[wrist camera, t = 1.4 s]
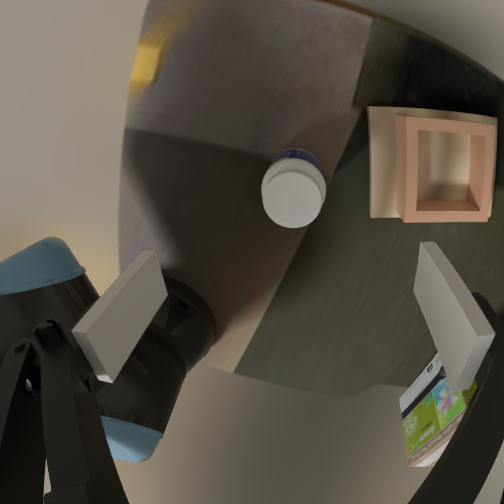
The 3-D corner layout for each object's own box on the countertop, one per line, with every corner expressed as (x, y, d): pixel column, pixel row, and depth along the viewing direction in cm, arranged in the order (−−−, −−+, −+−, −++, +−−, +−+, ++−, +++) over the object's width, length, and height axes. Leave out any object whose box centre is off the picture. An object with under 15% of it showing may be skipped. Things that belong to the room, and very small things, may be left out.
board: (369, 214, 34) (371, 217, 32) (366, 106, 28) (368, 106, 27) (485, 213, 30) (490, 216, 29) (491, 116, 25) (497, 118, 24)
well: (395, 210, 32) (404, 222, 28) (395, 114, 27) (405, 116, 24) (473, 210, 30) (487, 221, 27) (478, 122, 25) (494, 125, 22)
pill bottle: (283, 137, 31) (274, 152, 23) (331, 161, 32) (342, 186, 23) (261, 184, 34) (244, 216, 25) (307, 206, 34) (308, 246, 26)
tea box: (442, 339, 40) (470, 416, 27) (484, 347, 40) (513, 415, 27) (396, 398, 47) (407, 469, 34) (437, 402, 47) (452, 466, 34)
